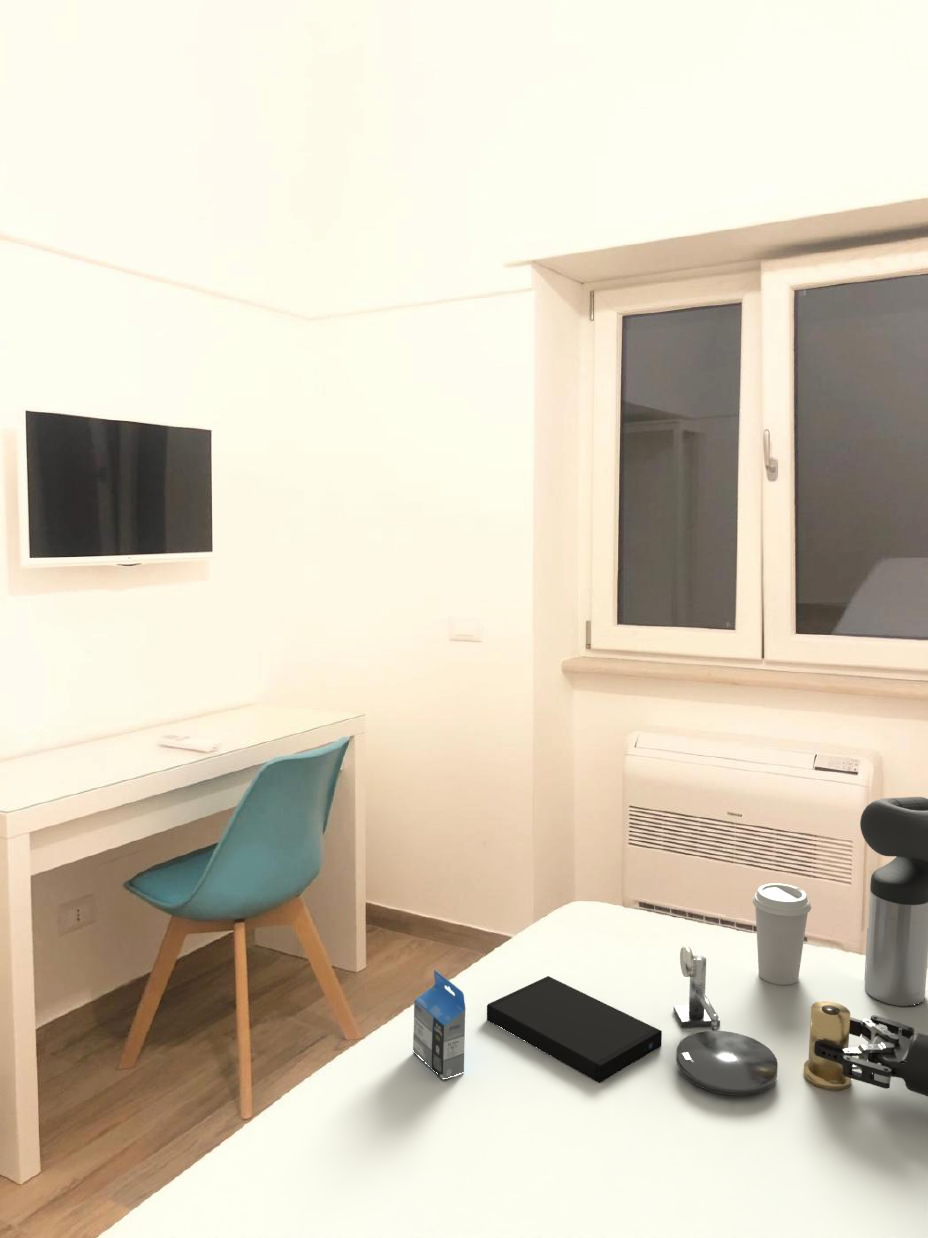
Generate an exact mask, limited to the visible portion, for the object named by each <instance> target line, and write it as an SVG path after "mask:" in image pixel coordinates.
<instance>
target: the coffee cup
mask: <svg viewBox="0 0 928 1238" xmlns="http://www.w3.org/2000/svg"><path fill="white" fill-rule="evenodd" d="M752 904H753V906H754V908H755V922H756V923H755V924H756V925H755V927H756V943H757V944H756V945H757V959H758V960H757V965H758V975H759V977H760V978H761V979H762V980H763V981H765V982H768V983H770V984H774V985H779V986H789V985H793V984H796V983H797V982H798V981H799V977H800V969H801V961H802V954H803V948H804V942H805V933H806V927H807V922H808V921H807V920H808V913H809V912H811V910H812V904H811V901H810V899H809V897H808V895H807V893H806V892H805V891H804V890H803V889H802V888H800V887H797V886H794V885H790V884H786V883H778V882H777V883H773V882H772V883H767V884H762V885H761V886H758V888H757V891H756V892H755V894H754V895H753V897H752Z"/></svg>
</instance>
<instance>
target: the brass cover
mask: <svg viewBox="0 0 928 1238" xmlns="http://www.w3.org/2000/svg"><path fill="white" fill-rule="evenodd" d="M850 1017H851V1011H850V1010H849V1009H848V1008H847V1007H846V1006H844V1005H842V1004H841V1003H840V1004H839V1003H837V1002H833V1001H828V1000H827V1001H826V1000H825V1001H822V1000H821V1001H817V1002H814V1003H812V1005H811V1006H810V1024H809V1044H808V1059H807V1060H806V1061H805V1062H804V1063H803V1073H802V1074H803V1077H804V1079H805V1080H806V1081H807V1083H808V1084H810V1085H812V1086H814V1087H816V1088H818V1089H821V1090H824V1091H830V1092H840V1091H845V1090H846V1089H847V1090H848V1089H849V1087H851V1084H852V1078H849V1077H845V1076H844V1075H843V1068H842V1065H841V1064H839V1063H837V1062H834V1061H831V1060H828V1059H825V1058H821V1057H819V1056H816V1055H815V1053H814V1048H815V1042H816V1040H817V1039H821V1040H824V1041H827V1042H830V1043H834V1044H837V1045H840V1046H843V1047H844V1048H849V1046H850V1045H849V1042H850V1041H849V1040H850V1034H849V1028H850Z"/></svg>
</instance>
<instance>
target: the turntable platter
mask: <svg viewBox="0 0 928 1238" xmlns="http://www.w3.org/2000/svg"><path fill="white" fill-rule="evenodd" d="M675 1060H676V1067H677V1069H678V1070H679V1072H680V1073H681V1074H682V1075H681V1076H683V1077H684V1078H685V1079H687V1080H688V1081H689V1082H691V1083H692V1084H694V1085H696V1086H697V1087H700V1088H702V1089H704V1090H707V1091H709V1092H714V1093H717V1094H722V1095H727V1096H750V1095H756V1094H759V1093H762V1092H765V1091H767V1090H769V1089H770V1088H771V1087H772V1086H773V1085H774V1084H775V1082H776V1081H777V1078H778V1069H779V1068H778V1065H779V1064H778V1058H777V1057H776V1054H775V1053H774V1052H773V1051H772V1050H771V1049H770V1048H769V1047H768V1046H766V1044H764V1043H763V1042H761V1041H759V1040H757V1039H755V1038H752V1037H750V1036H747V1035H745V1034H741V1033H737V1032H733V1031H727V1030H726V1031H725V1030H717V1031H712V1030H705V1031H704V1030H703V1031H699V1032H694V1033H692V1034H690V1035H688V1036H686V1037H684V1038H683V1039H681V1040H680V1041H679V1043H678V1045H677V1047H676V1059H675Z"/></svg>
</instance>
